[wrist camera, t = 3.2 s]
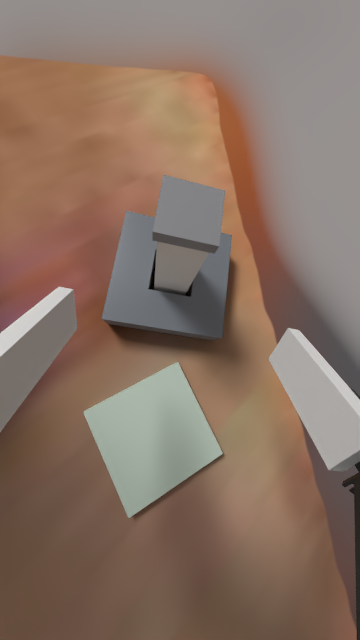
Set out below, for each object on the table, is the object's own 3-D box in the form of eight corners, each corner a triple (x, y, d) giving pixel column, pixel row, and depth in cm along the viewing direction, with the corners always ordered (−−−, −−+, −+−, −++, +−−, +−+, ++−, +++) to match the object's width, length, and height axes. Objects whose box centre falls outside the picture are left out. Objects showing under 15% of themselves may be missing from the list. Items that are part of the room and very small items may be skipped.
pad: (86, 410, 23) (83, 412, 22) (176, 361, 25) (178, 362, 24) (129, 511, 21) (128, 518, 20) (220, 449, 24) (222, 453, 23)
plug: (151, 296, 26) (152, 231, 13) (156, 265, 27) (163, 174, 14) (183, 302, 27) (219, 246, 13) (188, 271, 28) (225, 190, 14)
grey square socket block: (108, 324, 25) (101, 319, 21) (129, 228, 28) (126, 210, 24) (213, 340, 26) (222, 338, 23) (222, 249, 29) (231, 235, 26)
